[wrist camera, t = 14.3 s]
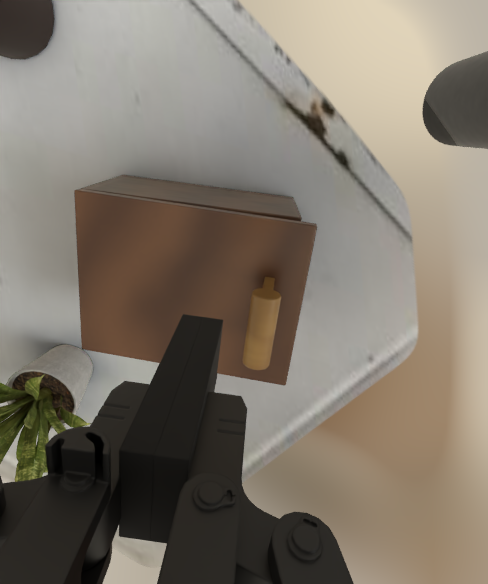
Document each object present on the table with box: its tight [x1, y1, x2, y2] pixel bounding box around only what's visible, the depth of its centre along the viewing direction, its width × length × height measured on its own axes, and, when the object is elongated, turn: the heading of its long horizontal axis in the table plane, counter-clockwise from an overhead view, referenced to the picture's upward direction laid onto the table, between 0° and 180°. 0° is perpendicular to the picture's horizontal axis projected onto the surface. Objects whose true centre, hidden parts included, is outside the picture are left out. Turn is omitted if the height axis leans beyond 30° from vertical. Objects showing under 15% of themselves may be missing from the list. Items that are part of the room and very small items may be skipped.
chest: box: [81, 175, 302, 221], centre depth 34 cm, size 16×13×9 cm
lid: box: [75, 189, 317, 385], centre depth 27 cm, size 16×13×5 cm
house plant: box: [0, 344, 93, 482], centre depth 36 cm, size 14×14×16 cm
